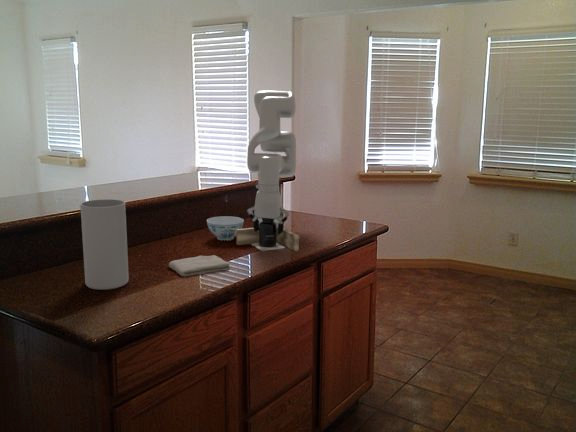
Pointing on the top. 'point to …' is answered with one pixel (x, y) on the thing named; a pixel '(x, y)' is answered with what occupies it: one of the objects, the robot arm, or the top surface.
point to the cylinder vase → (104, 243)
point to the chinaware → (225, 226)
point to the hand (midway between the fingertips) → (268, 232)
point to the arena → (284, 238)
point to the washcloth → (198, 265)
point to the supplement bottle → (267, 233)
